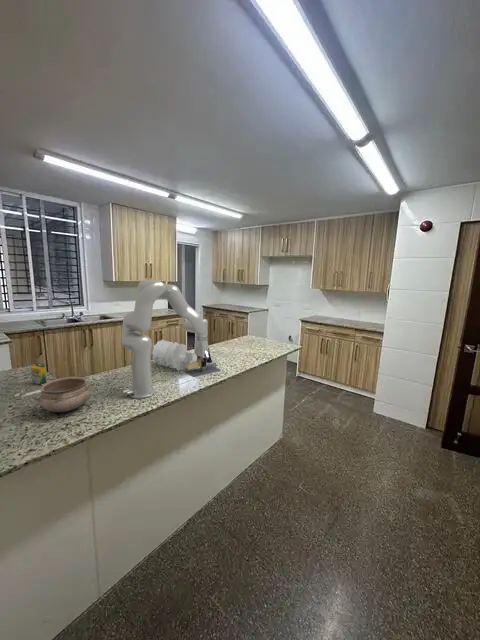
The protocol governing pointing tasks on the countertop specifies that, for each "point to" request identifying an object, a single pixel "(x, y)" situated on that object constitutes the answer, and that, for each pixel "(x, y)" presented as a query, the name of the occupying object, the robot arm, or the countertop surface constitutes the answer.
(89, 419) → the countertop surface
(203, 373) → the mat
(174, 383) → the countertop surface
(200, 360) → the loose leaf
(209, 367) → the fixed leaf
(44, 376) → the crayon box
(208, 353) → the phone stand
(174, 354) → the spiral staircase
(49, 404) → the cooking pot
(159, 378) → the countertop surface
